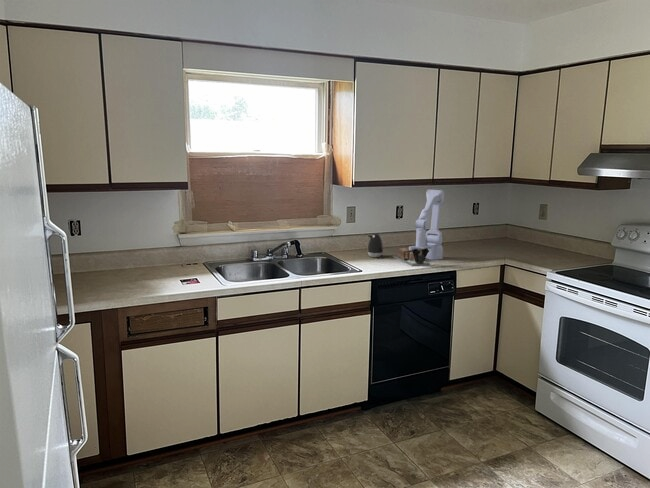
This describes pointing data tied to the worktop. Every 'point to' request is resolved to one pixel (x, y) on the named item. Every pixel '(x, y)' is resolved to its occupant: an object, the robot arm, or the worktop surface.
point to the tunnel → (404, 252)
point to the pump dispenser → (375, 246)
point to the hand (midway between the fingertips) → (419, 261)
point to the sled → (420, 258)
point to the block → (410, 255)
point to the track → (411, 261)
